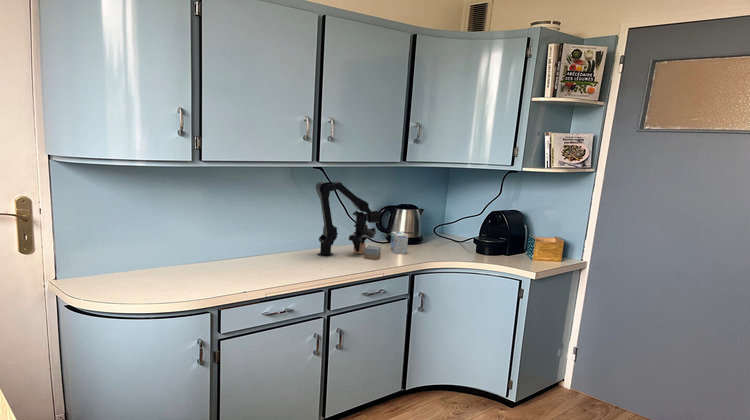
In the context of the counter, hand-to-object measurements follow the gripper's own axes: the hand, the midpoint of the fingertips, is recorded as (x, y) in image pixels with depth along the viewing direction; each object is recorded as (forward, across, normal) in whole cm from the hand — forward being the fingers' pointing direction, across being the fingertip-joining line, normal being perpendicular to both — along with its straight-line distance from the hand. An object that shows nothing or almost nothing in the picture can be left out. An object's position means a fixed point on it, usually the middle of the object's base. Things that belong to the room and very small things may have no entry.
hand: (359, 250), depth 277 cm
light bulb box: (+2, +16, -18) cm, 24 cm away
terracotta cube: (+1, 0, 0) cm, 1 cm away
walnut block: (+2, -6, -10) cm, 12 cm away
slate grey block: (-1, -6, -10) cm, 12 cm away
